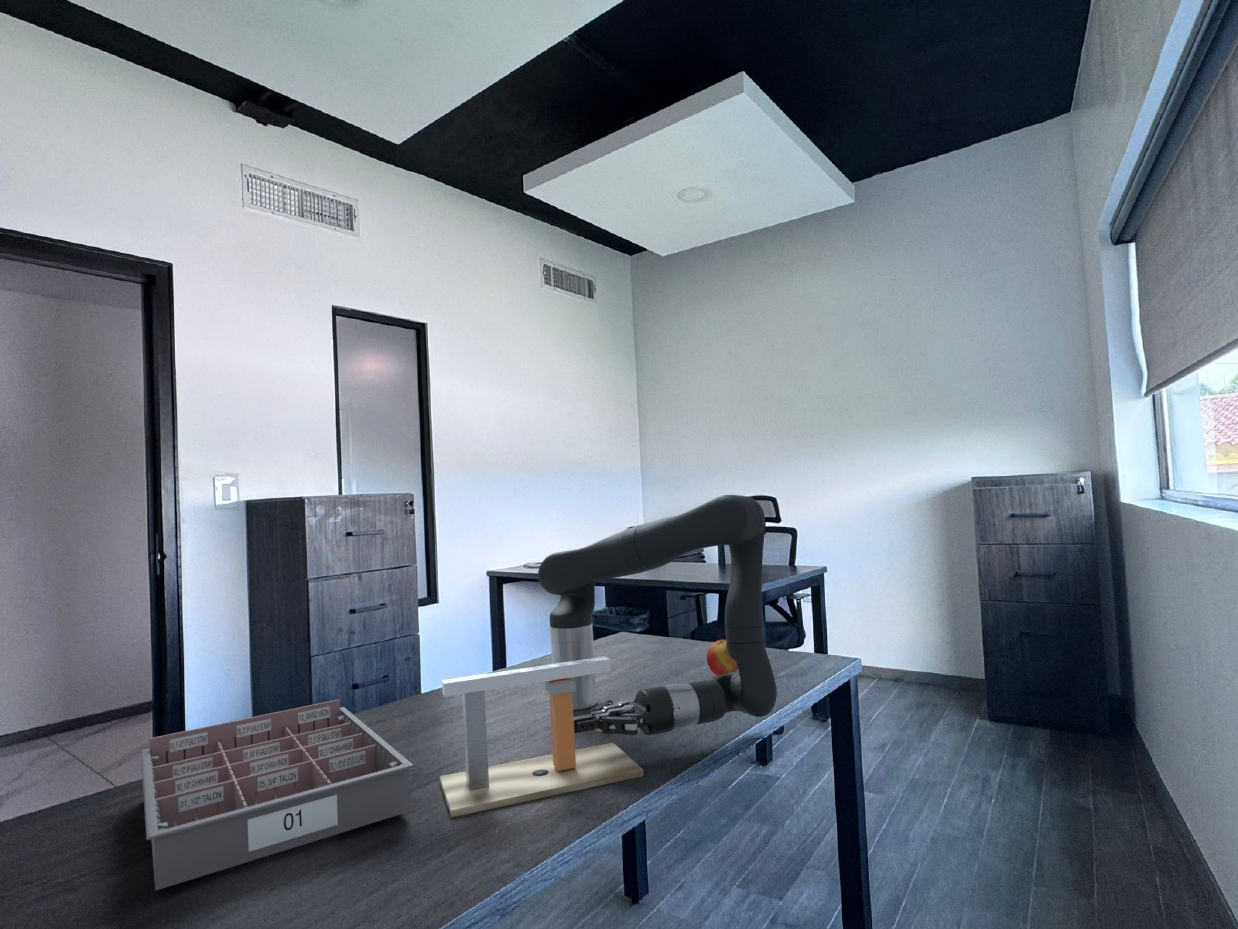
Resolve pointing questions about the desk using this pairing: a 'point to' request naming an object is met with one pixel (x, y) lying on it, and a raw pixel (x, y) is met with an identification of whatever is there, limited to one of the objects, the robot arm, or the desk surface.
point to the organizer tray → (264, 788)
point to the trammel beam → (477, 684)
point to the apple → (720, 659)
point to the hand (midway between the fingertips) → (571, 725)
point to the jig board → (538, 779)
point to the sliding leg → (562, 722)
